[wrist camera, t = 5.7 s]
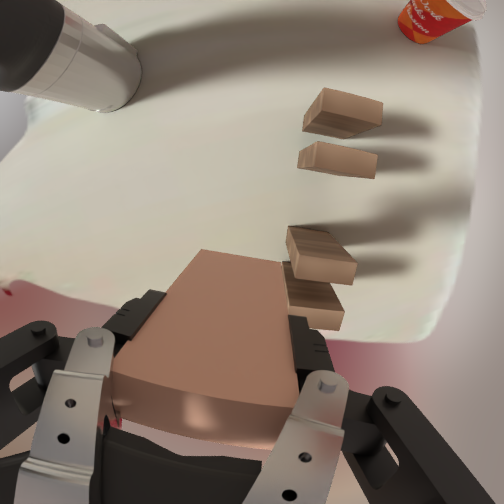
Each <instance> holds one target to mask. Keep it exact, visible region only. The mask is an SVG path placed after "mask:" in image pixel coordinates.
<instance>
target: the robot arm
mask: <svg viewBox="0 0 504 504" xmlns="http://www.w3.org/2000/svg"><path fill="white" fill-rule="evenodd" d="M137 52H138V50H137V49H135V48H134V47H133V46H132V45H130V44H129V43H128V42H127V41H125V40H124V39H123V38H122V37H120V36H119V35H118V34H117V33H115V32H114V31H113V30H112V29H110V28H109V27H108V26H106V25H105V24H98V25H92V24H91V23H89V22H88V21H86V20H85V19H83V18H82V17H80V16H79V15H77V14H75V13H74V12H72V11H71V10H69V9H68V8H66V7H65V6H63V5H61V4H60V3H59V2H57V1H56V0H0V91H5V92H11V93H17V94H23V95H28V96H33V97H38V98H43V99H48V100H52V101H57V102H61V103H65V104H69V105H74V106H78V107H82V108H86V109H88V110H92V111H97V112H102V113H107V112H112V111H114V110H117V109H119V108H120V107H122V106H123V105H125V104H126V103H127V102H128V101H129V100H130V99H131V97H132V96H133V95H134V93H135V92H136V90H137V88H138V86H139V83H140V80H141V75H142V69H141V65H140V62H139V60H138V59H137ZM166 295H167V293H165V292H160V291H155V290H151V289H150V290H148V291H147V292H146V293H145V295H144V296H143V297H142V298H141V299H139V298H135V299H132V300H130V301H128V302H126V303H125V304H124V305H123V306H122V307H121V309H119V310H118V311H117V312H116V314H114V315H113V316H112V317H111V318H110V319H109V320H108V321H107V322H106V323H105V324H104V325H103V326H102V327H101V328H99V327H92V328H87V329H84V330H82V331H80V332H79V333H78V334H77V336H76V338H67V337H60V336H58V335H57V330H56V327H55V325H54V324H52V323H50V322H47V321H35V322H31V323H29V324H27V325H25V326H23V327H21V328H19V329H17V330H15V331H14V332H12V333H9V334H8V335H6V336H4V337H2V338H0V450H1V449H2V448H3V447H5V446H6V445H7V444H9V443H10V442H11V441H12V440H14V439H15V438H16V437H17V436H19V435H20V434H21V433H23V432H24V431H25V430H26V429H28V428H29V427H30V426H32V425H33V424H34V423H35V422H37V421H38V422H37V426H36V429H35V433H34V437H33V441H32V446H31V450H30V451H26V452H23V453H19V454H15V455H12V456H8V457H4V458H0V504H325V503H326V500H327V497H328V494H329V490H330V487H331V484H332V480H333V477H334V473H335V470H336V466H337V462H338V458H339V455H340V450H341V451H342V452H343V455H344V457H345V458H346V460H347V462H348V464H349V466H350V468H351V470H352V471H353V473H354V476H355V477H356V479H357V481H358V483H359V485H360V487H361V489H362V490H363V492H364V494H365V496H366V498H367V500H368V502H369V504H495V502H494V501H493V500H492V499H491V497H490V496H489V495H488V493H487V492H486V491H485V490H484V488H483V487H482V486H481V484H480V483H479V482H478V481H477V479H476V478H475V477H474V476H473V474H472V473H471V472H470V471H469V469H468V468H467V467H466V466H465V464H464V463H463V462H462V461H461V459H460V458H459V457H458V456H457V454H456V453H455V452H454V451H453V450H452V448H451V447H450V446H449V445H448V443H447V442H446V441H445V440H444V439H443V437H442V436H441V435H440V434H439V433H438V431H437V430H436V429H435V428H434V427H433V425H432V424H431V423H430V422H429V421H428V419H427V418H426V417H425V416H424V415H423V414H422V412H421V411H420V410H419V409H418V408H417V406H416V405H415V404H414V403H413V402H412V400H411V399H410V398H409V397H408V396H407V395H406V394H405V393H404V392H403V391H401V390H399V389H397V388H394V387H389V386H383V387H379V388H377V389H376V390H375V391H374V393H373V395H372V396H369V395H365V394H361V393H357V392H354V391H351V390H349V385H348V383H347V381H346V380H345V379H344V378H343V377H342V376H340V375H339V374H337V373H335V371H334V368H333V364H332V361H331V358H330V354H329V353H328V352H329V351H328V348H327V347H326V342H325V338H324V337H323V336H322V335H321V334H320V332H319V331H318V330H313V329H309V325H308V321H307V317H304V316H296V315H288V320H289V328H290V335H291V343H292V351H293V359H294V367H295V373H297V380H298V387H299V397H298V399H297V402H296V404H295V406H294V408H293V411H292V413H291V414H290V415H289V417H288V419H287V421H286V423H285V425H284V427H283V429H282V431H281V433H280V436H279V438H278V440H277V442H276V444H275V445H274V447H273V449H272V451H271V453H270V455H269V457H268V459H267V461H266V463H265V465H264V466H263V468H262V470H261V466H262V461H258V460H249V459H240V458H233V457H226V456H181V455H178V454H175V453H173V452H171V451H169V450H167V449H165V448H163V447H161V446H159V445H157V444H155V443H153V442H152V441H150V440H148V439H146V438H144V437H141V436H137V435H134V434H131V433H128V432H125V431H123V430H122V418H121V414H120V411H117V410H115V409H114V405H113V400H112V396H111V388H112V380H113V372H112V369H113V362H114V358H115V357H116V355H117V354H118V353H119V351H120V350H121V349H122V347H123V346H124V345H125V343H126V342H127V341H132V339H133V338H134V337H135V335H136V334H137V333H138V331H139V330H140V329H141V327H142V326H143V325H144V323H145V322H146V321H147V320H148V318H149V317H150V316H151V314H152V313H153V312H154V310H155V309H156V308H157V307H158V305H159V304H160V303H161V301H162V300H163V299H164V298H165V296H166ZM30 366H32V369H33V372H34V375H35V377H33V378H32V379H30V380H29V381H27V382H26V383H24V384H23V385H21V386H20V387H18V388H17V389H15V390H14V391H12V392H11V391H10V388H9V383H10V380H11V379H12V378H13V377H14V376H16V375H17V374H19V373H20V372H22V371H23V370H25V369H27V368H28V367H30ZM386 443H388V444H389V446H390V447H391V449H392V450H393V452H394V453H395V455H396V456H397V458H398V461H399V466H398V465H397V464H396V462H395V460H394V459H393V457H392V456H391V454H390V453H389V451H388V450H387V448H386V447H385V444H386Z"/></svg>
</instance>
